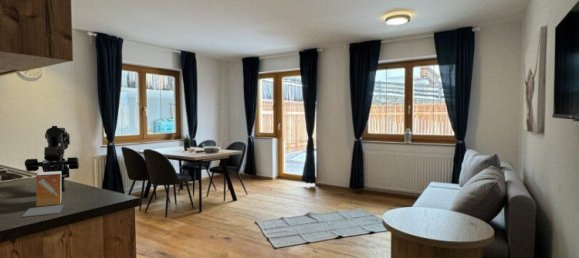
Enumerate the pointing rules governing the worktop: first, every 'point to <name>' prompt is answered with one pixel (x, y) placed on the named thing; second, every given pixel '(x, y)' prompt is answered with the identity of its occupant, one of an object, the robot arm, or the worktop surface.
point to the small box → (48, 188)
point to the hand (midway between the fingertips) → (50, 180)
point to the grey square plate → (43, 210)
